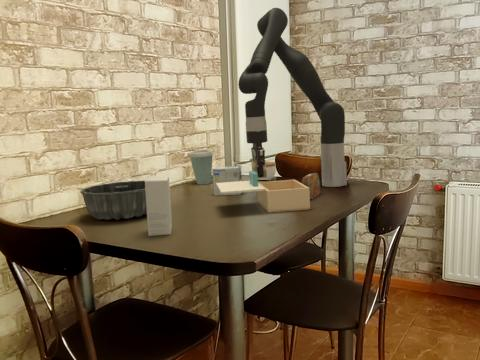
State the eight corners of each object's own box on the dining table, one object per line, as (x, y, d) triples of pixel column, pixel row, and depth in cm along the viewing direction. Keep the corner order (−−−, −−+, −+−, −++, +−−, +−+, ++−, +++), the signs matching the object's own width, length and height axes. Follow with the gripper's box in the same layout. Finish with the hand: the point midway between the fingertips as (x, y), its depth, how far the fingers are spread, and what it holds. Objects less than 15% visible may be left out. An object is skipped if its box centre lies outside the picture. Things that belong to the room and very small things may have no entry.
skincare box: (151, 229, 142) (146, 176, 139) (173, 227, 142) (169, 174, 140) (148, 236, 133) (143, 180, 131) (172, 234, 134) (167, 178, 132)
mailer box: (295, 198, 174) (294, 179, 173) (310, 209, 156) (309, 187, 154) (257, 201, 172) (256, 182, 171) (268, 213, 154) (267, 191, 153)
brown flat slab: (309, 201, 169) (308, 177, 167) (300, 201, 170) (299, 177, 169) (321, 193, 182) (320, 171, 181) (313, 193, 183) (312, 171, 182)
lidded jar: (251, 182, 218) (250, 161, 216) (254, 178, 228) (253, 158, 227) (275, 181, 216) (274, 160, 214) (277, 177, 226) (276, 157, 225)
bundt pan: (81, 213, 171) (78, 185, 170) (155, 203, 180) (153, 177, 179) (85, 229, 147) (82, 196, 145) (171, 217, 156) (168, 186, 154)
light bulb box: (242, 191, 195) (241, 165, 193) (240, 195, 188) (239, 167, 186) (216, 192, 196) (214, 166, 194) (213, 196, 189) (211, 168, 188)
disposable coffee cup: (214, 184, 217) (211, 151, 215) (189, 185, 217) (187, 152, 215) (215, 181, 227) (213, 149, 225) (192, 182, 228) (190, 150, 225)
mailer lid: (254, 181, 171) (253, 168, 171) (264, 190, 153) (263, 176, 152) (216, 184, 169) (215, 171, 169) (221, 193, 151) (220, 179, 150)
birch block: (264, 175, 181) (263, 159, 180) (266, 177, 177) (265, 160, 176) (252, 176, 181) (251, 160, 180) (254, 178, 176) (253, 162, 175)
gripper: (243, 129, 183) (246, 174, 185) (249, 131, 169) (252, 179, 171) (262, 128, 184) (265, 172, 186) (270, 129, 170) (273, 177, 172)
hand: (259, 175), depth 179 cm, fingers closed on birch block, 4 cm apart
